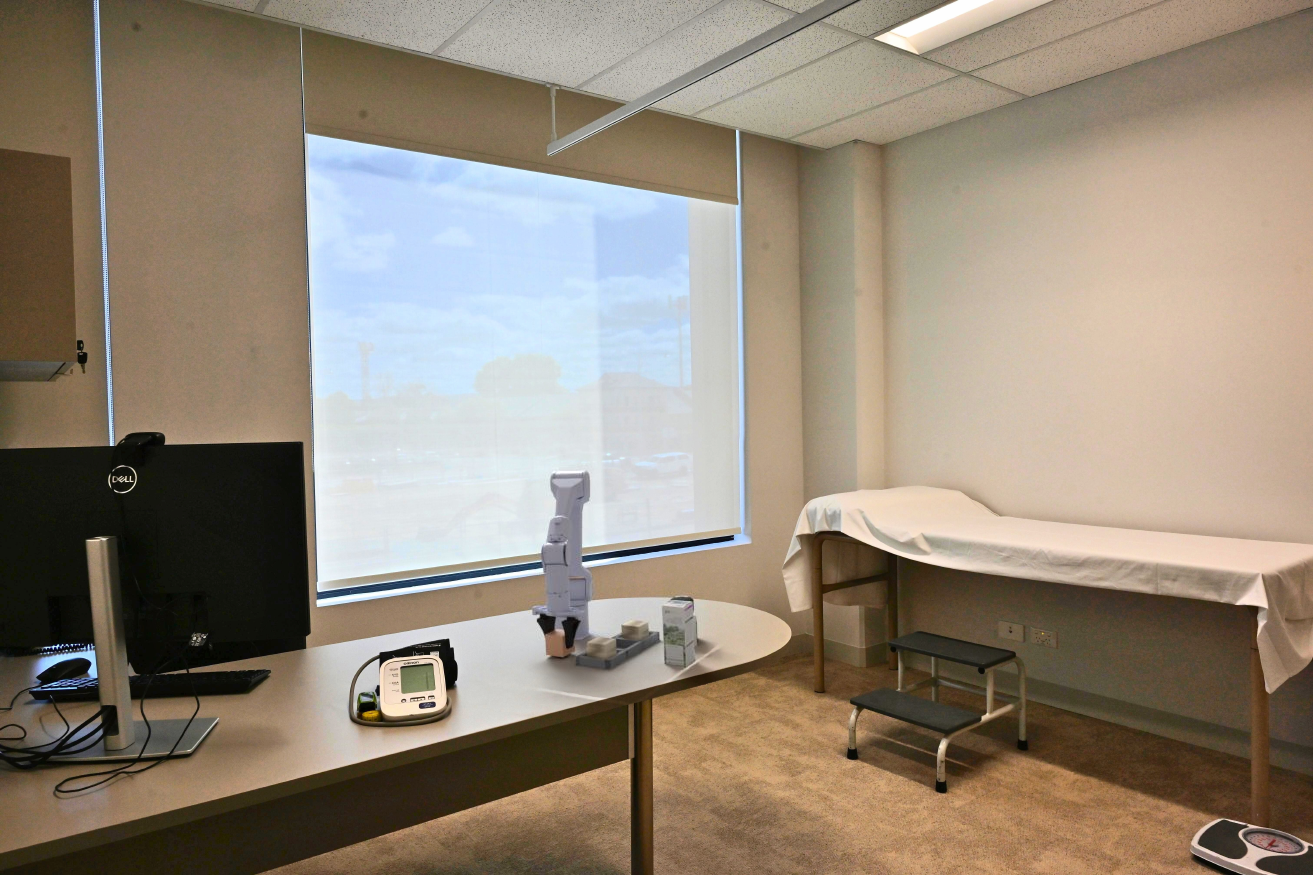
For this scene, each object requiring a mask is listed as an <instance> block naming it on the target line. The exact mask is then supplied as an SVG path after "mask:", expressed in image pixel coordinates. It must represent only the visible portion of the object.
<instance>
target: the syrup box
mask: <svg viewBox="0 0 1313 875" xmlns="http://www.w3.org/2000/svg"><path fill="white" fill-rule="evenodd" d="M661 614H662V637H663V638H662V639H663V640H662V642H663V657H664V659H663V660H664V665H666V664H667V665H673V666H674V665H675V666H683V667H684V668H685V669H687V668H688V667H690V666H691V665H692V664H694V663H695V659H696V655H695V654H696V653H695V652H696V651H695V646H694V627H693V602H691V601H678V600H671V599H670V600H668V601H666V602H664V603H663V604H662V606H661Z"/></svg>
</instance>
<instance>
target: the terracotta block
mask: <svg viewBox="0 0 1313 875" xmlns="http://www.w3.org/2000/svg"><path fill="white" fill-rule="evenodd" d="M544 639H545V640H544V641H545V655H546V656H552V657H559V658H564V657H566V656H568V655H571V654H572V653H574V652H575V651H576V650H575V648H576V646H575V645H576V644H575V643H574V644H573V647H571V648H569V649H566V644H565V633H564V630H561V629H556V630H554V631H552V632H549V633H547V634H545V636H544Z"/></svg>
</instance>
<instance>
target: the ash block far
mask: <svg viewBox="0 0 1313 875" xmlns="http://www.w3.org/2000/svg"><path fill="white" fill-rule="evenodd" d="M649 631H650V630H649V621H645V620H637V619H635V620H634V619H630V620H628V621H626V622H625V623H623V624H621V632H622V638H627V639H635V640H642V639H644V638H645V637H647V636H649Z"/></svg>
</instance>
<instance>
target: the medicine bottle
mask: <svg viewBox="0 0 1313 875" xmlns="http://www.w3.org/2000/svg"><path fill="white" fill-rule="evenodd" d="M670 600H678V601H691V602H693V627H694V647H697V646H699V645H698V644H699V642H698V620H697V612H695V605H694V604H695V603H694V601H695V600H694V598H693V597H691V596H689V595H688V596H687V595H678V596H674V597H671V598H670Z"/></svg>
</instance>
